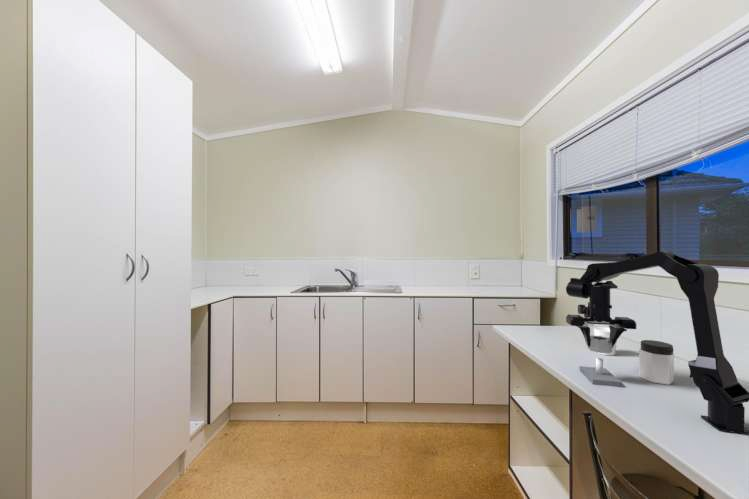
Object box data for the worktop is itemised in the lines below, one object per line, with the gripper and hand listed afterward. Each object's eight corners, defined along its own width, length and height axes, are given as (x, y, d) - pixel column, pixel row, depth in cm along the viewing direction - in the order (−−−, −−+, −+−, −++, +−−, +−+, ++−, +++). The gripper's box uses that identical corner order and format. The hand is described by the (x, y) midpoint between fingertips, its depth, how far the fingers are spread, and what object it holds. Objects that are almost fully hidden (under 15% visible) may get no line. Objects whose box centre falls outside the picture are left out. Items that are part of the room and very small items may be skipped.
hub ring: (614, 353, 104) (614, 341, 104) (592, 352, 105) (592, 340, 105) (606, 348, 110) (606, 336, 110) (585, 346, 111) (585, 335, 111)
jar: (668, 387, 101) (668, 349, 101) (636, 378, 108) (636, 342, 108) (677, 380, 106) (677, 344, 106) (645, 372, 113) (646, 338, 113)
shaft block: (621, 387, 101) (621, 366, 101) (592, 384, 103) (592, 364, 103) (605, 372, 112) (605, 354, 112) (579, 370, 115) (579, 352, 114)
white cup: (615, 352, 135) (616, 328, 134) (618, 357, 128) (618, 332, 128) (593, 349, 139) (593, 325, 139) (594, 354, 132) (594, 329, 132)
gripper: (620, 298, 113) (620, 342, 113) (561, 296, 118) (561, 338, 118) (637, 303, 102) (637, 352, 102) (571, 300, 107) (571, 347, 107)
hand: (599, 347), depth 108 cm, fingers closed on hub ring, 6 cm apart
